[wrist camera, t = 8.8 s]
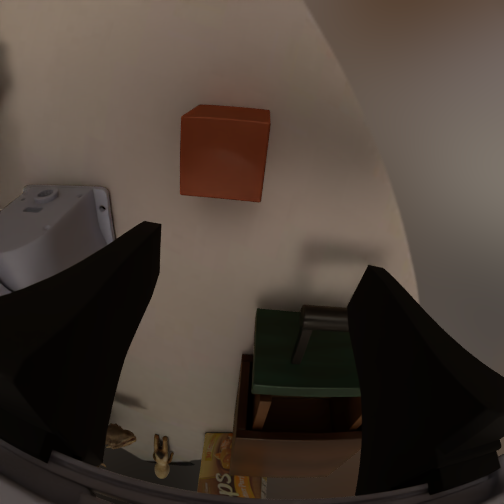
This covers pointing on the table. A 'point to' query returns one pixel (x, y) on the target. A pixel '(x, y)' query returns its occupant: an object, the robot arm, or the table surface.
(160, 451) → the figurine
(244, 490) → the candy box
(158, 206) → the table surface
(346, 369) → the drawer
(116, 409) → the table surface
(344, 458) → the cabinet
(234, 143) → the block
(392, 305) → the robot arm
